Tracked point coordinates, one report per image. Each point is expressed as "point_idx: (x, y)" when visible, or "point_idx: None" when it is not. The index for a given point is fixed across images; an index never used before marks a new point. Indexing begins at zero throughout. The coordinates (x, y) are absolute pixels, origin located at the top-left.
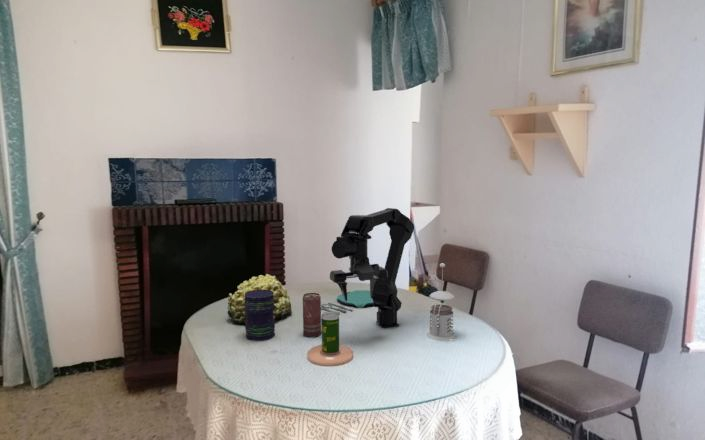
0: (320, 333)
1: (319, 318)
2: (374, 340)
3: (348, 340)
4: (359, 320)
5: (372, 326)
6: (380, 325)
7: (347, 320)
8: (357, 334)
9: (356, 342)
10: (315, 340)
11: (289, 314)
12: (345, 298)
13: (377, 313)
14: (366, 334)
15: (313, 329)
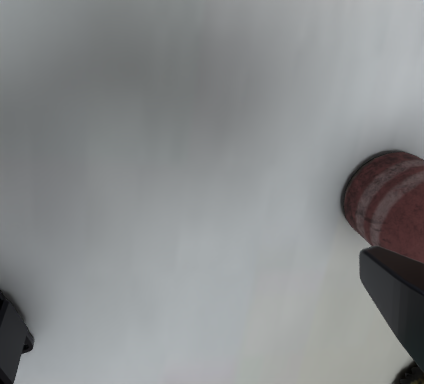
0: (354, 180)
1: (420, 218)
2: (39, 70)
3: (216, 89)
4: (127, 360)
5: (56, 294)
6: (3, 299)
7: (187, 354)
8: (152, 181)
9: (170, 47)
10: (389, 108)
11: (409, 375)
12: (413, 261)
13: (8, 371)
14: (96, 179)
15: (417, 166)
